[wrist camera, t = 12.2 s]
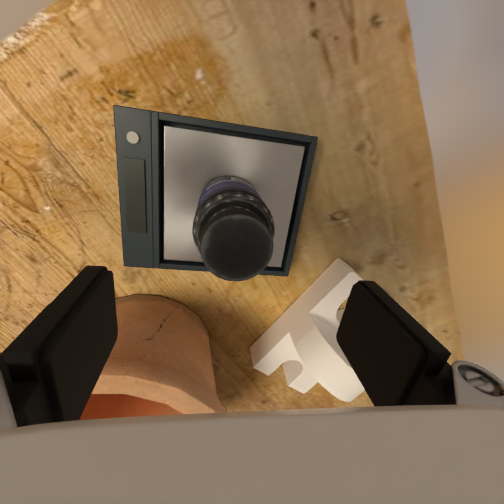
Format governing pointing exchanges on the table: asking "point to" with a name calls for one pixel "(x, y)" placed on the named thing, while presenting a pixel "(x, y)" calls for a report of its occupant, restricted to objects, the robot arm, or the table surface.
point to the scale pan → (217, 165)
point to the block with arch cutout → (312, 338)
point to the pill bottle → (233, 229)
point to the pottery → (155, 363)
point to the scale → (152, 182)
